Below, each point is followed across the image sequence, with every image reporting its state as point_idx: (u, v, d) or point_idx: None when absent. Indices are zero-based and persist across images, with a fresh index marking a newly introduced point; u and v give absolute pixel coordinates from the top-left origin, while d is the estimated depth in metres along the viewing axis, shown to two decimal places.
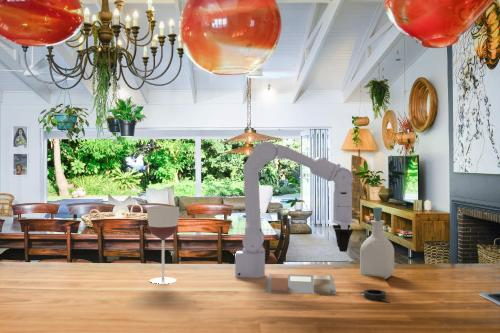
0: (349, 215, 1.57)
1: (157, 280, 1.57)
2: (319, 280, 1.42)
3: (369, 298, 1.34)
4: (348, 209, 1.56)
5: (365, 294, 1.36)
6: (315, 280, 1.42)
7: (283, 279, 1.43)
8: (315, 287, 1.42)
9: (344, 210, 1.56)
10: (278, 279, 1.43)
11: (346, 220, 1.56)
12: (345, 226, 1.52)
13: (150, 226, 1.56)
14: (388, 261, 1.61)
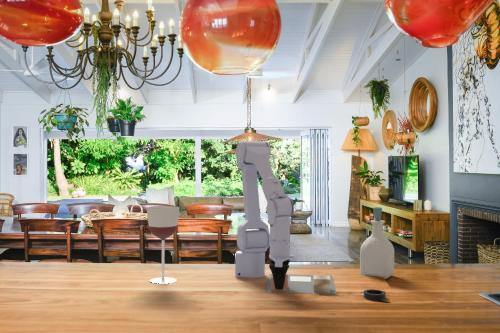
0: (286, 250, 1.43)
1: (157, 280, 1.57)
2: (319, 280, 1.42)
3: (369, 298, 1.34)
4: (285, 243, 1.43)
5: (365, 294, 1.36)
6: (315, 280, 1.42)
7: None
8: (315, 287, 1.42)
9: (280, 245, 1.42)
10: None
11: (282, 256, 1.42)
12: (279, 263, 1.38)
13: (150, 226, 1.56)
14: (388, 261, 1.61)
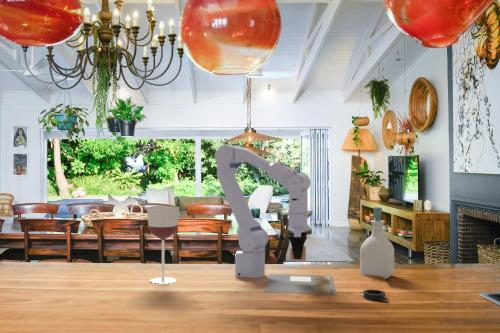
0: (304, 222, 1.52)
1: (157, 280, 1.57)
2: (319, 280, 1.42)
3: (368, 298, 1.34)
4: (303, 216, 1.52)
5: (364, 294, 1.36)
6: (315, 280, 1.42)
7: None
8: (315, 287, 1.42)
9: (299, 217, 1.52)
10: None
11: (301, 227, 1.52)
12: (298, 234, 1.47)
13: (150, 226, 1.56)
14: (388, 261, 1.61)
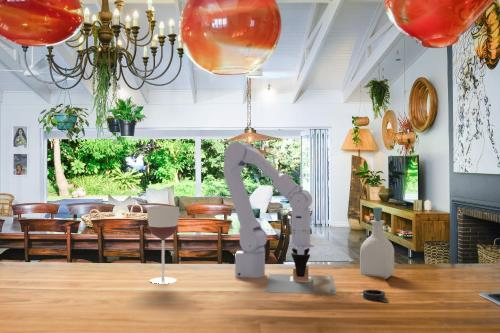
0: (307, 239, 1.54)
1: (157, 280, 1.57)
2: (319, 280, 1.42)
3: (368, 298, 1.34)
4: (306, 233, 1.54)
5: (364, 294, 1.36)
6: (315, 280, 1.42)
7: None
8: (315, 287, 1.42)
9: (302, 234, 1.53)
10: None
11: (304, 244, 1.54)
12: (301, 251, 1.49)
13: (150, 226, 1.56)
14: (388, 261, 1.61)
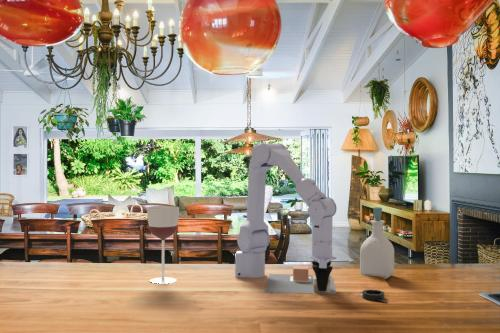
0: (329, 251, 1.42)
1: (157, 280, 1.57)
2: None
3: (367, 298, 1.34)
4: (328, 244, 1.41)
5: (363, 294, 1.36)
6: (315, 280, 1.42)
7: (304, 270, 1.54)
8: (315, 287, 1.42)
9: (323, 246, 1.41)
10: (300, 270, 1.54)
11: (326, 257, 1.41)
12: (324, 265, 1.37)
13: (150, 226, 1.56)
14: (388, 261, 1.61)
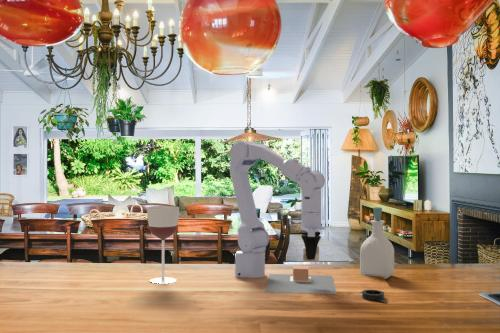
0: (318, 221, 1.48)
1: (157, 280, 1.57)
2: None
3: (367, 298, 1.34)
4: (317, 215, 1.47)
5: (363, 294, 1.36)
6: (304, 249, 1.48)
7: (304, 270, 1.54)
8: (304, 256, 1.48)
9: (312, 216, 1.47)
10: (300, 270, 1.54)
11: (314, 227, 1.47)
12: (312, 233, 1.43)
13: (150, 226, 1.56)
14: (388, 261, 1.61)
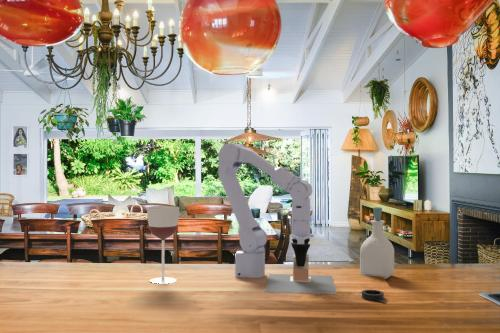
0: (307, 229, 1.54)
1: (157, 280, 1.57)
2: None
3: (366, 298, 1.34)
4: (306, 223, 1.54)
5: (362, 294, 1.36)
6: (294, 258, 1.54)
7: (304, 270, 1.54)
8: (295, 264, 1.54)
9: (302, 224, 1.53)
10: (300, 270, 1.54)
11: (304, 234, 1.53)
12: (301, 241, 1.49)
13: (150, 226, 1.56)
14: (388, 261, 1.61)
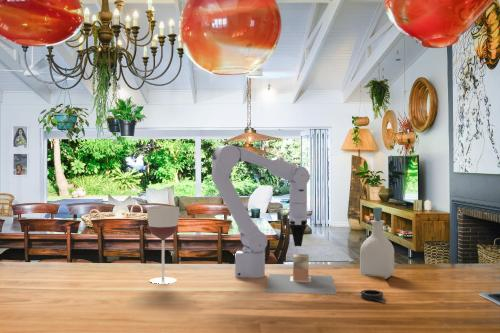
0: (304, 211, 1.64)
1: (157, 280, 1.57)
2: (298, 258, 1.54)
3: (365, 298, 1.34)
4: (303, 205, 1.64)
5: (362, 294, 1.36)
6: (294, 258, 1.54)
7: (304, 270, 1.54)
8: (295, 264, 1.54)
9: (299, 206, 1.63)
10: (300, 270, 1.54)
11: (301, 216, 1.63)
12: (299, 222, 1.59)
13: (150, 226, 1.56)
14: (388, 261, 1.61)
